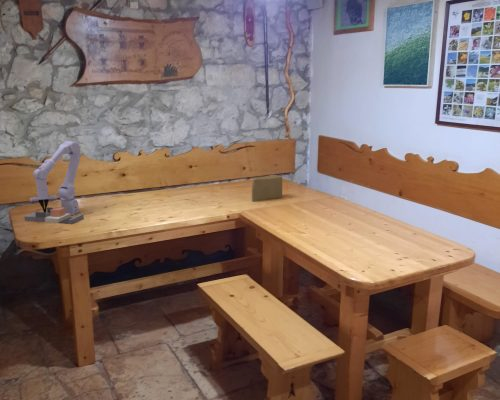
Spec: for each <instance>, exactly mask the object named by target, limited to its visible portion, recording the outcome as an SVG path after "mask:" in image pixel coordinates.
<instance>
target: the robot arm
mask: <svg viewBox="0 0 500 400" xmlns="http://www.w3.org/2000/svg"><path fill="white" fill-rule="evenodd" d="M65 154H67V155H68V156H69V158H70V159H69V162H68V166H67V169H66V173H65V177H64V179H63V180H64V181H63V183H61V185H60V187H59V188H58V190H57V195H55V194H54V195H49V189H48V183H47V181H48V180H47V178H48V177H49V173H51V171H52V170H53V169H54V168H55V166H56V162H58V161H59V159H60V158H62V157H63V155H65ZM80 161H81V146H80V144H79V143H78V142H77V141H71V140H70V141H69V140H64V141H62V143H61V144H59V147H58V149H57V150H56V151H55V152H54V154H52V156H51V158H48V159H46V160H43V163H42V164H41V165H40V166H39V167H38V168H37V169H35V170H34V171H33V174H32V177H33V178H34V179H35V186H36V192H37V193H36V194H37V196H34V197H30V198H29V202H30V203H32V202H38V203H39V205H40V207H41V209H42V212H47V208H48V205H49V202H50V200H57V199H58V198H57V196H58V197H59V198H60V206H61V207H65V211H66V213H69V214H70V216H74V215H76V214H78V213H80V209H79V201H78V200H77V199H74V198H75V196H76V191H75V190H76V186H75V185H74V184H75V179H76V176H77V172H78V168H79V165H80V164H79V163H80Z"/></svg>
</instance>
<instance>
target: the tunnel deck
mask: <svg viewBox="0 0 500 400" xmlns="http://www.w3.org/2000/svg"><path fill="white" fill-rule="evenodd" d="M53 208H54V207H53V206H52V207H49V206H47V209H46V212H44V211H38V210H37V211H34V212H32V213H30V214H27V215H24V216H23V217H24V221H25V220H26V221H27V222H40V223H50V224H51V223H52V224H65V225H73V224H75V223H77V222H80V221H82V220H84V218H85V217H84V214H78V215H76V216H73V217H71V216H72V215H70V214H69V213H66V214H65V215H63V216H61V217H51V212H50V210H51V209H53Z"/></svg>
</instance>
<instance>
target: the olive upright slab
mask: <svg viewBox="0 0 500 400" xmlns="http://www.w3.org/2000/svg"><path fill="white" fill-rule="evenodd" d="M251 183H252V184H251V202H260V201H266V200H273V199H279V198H282V197H283V176H281V175H277V174H270V175H266V176H262V177H255V178H253V179H252V182H251Z"/></svg>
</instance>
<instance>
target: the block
mask: <svg viewBox="0 0 500 400" xmlns="http://www.w3.org/2000/svg"><path fill="white" fill-rule="evenodd" d="M52 208H53V209H51V210H50V212H51V217H61V216H63V215H65V214H66V211H65V207H60V206H59V207H58V206H55V207H52Z"/></svg>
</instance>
